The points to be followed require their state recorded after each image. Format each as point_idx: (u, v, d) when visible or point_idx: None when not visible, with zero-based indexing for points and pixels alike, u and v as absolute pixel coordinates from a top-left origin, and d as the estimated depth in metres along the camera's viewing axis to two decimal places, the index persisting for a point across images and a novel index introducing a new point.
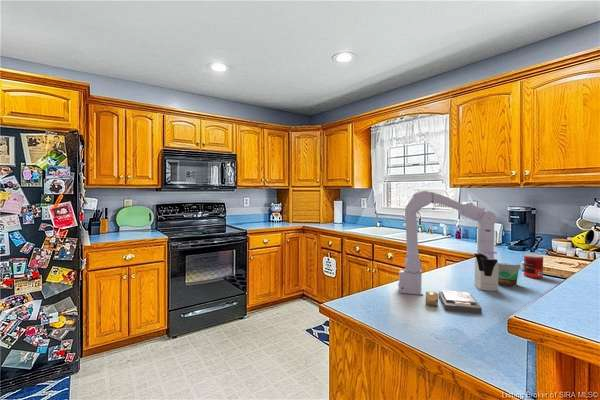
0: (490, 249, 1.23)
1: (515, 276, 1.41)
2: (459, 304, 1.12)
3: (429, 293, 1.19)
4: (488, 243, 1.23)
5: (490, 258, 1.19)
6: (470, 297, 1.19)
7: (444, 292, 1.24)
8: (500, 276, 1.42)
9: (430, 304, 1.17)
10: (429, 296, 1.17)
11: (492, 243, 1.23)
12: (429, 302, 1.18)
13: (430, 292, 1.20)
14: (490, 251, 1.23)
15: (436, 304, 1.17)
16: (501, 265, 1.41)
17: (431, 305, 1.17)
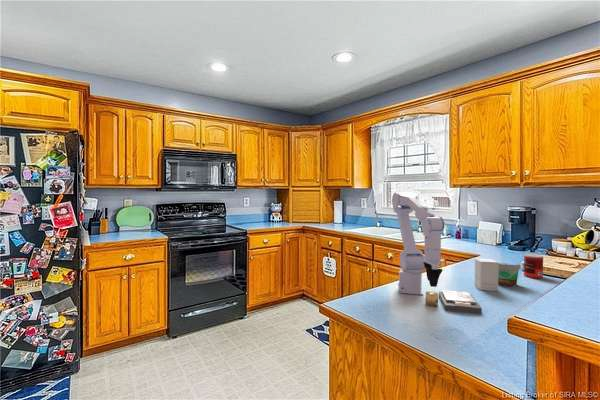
0: (436, 258, 1.16)
1: (515, 276, 1.41)
2: (459, 304, 1.12)
3: (429, 293, 1.19)
4: (434, 251, 1.16)
5: (434, 268, 1.11)
6: (470, 297, 1.19)
7: (444, 292, 1.24)
8: (500, 276, 1.42)
9: (430, 304, 1.17)
10: (429, 295, 1.17)
11: (438, 251, 1.16)
12: (429, 302, 1.18)
13: (430, 292, 1.20)
14: (436, 260, 1.16)
15: (436, 304, 1.17)
16: (501, 265, 1.41)
17: (431, 305, 1.17)
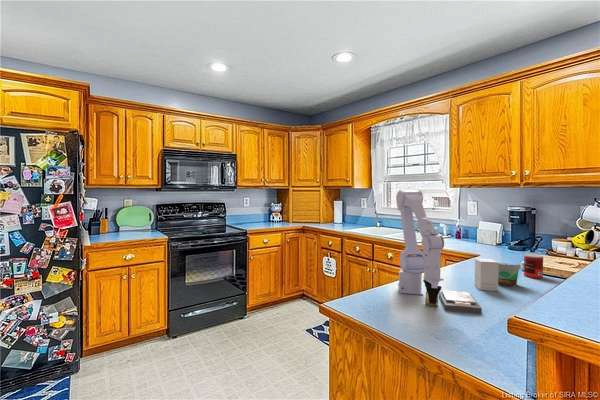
0: (435, 276, 1.16)
1: (515, 276, 1.41)
2: (459, 304, 1.12)
3: None
4: (433, 270, 1.16)
5: (434, 286, 1.12)
6: (470, 297, 1.19)
7: (444, 292, 1.24)
8: (500, 276, 1.42)
9: (430, 304, 1.17)
10: None
11: (438, 270, 1.16)
12: (429, 302, 1.18)
13: None
14: (435, 278, 1.16)
15: (436, 304, 1.17)
16: (501, 265, 1.41)
17: (431, 305, 1.17)
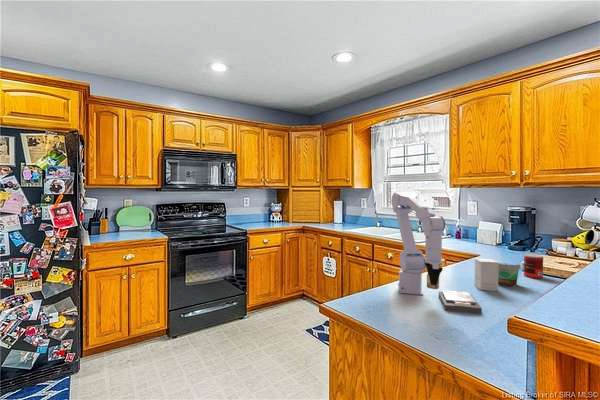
0: (437, 257, 1.16)
1: (515, 276, 1.41)
2: (459, 304, 1.12)
3: None
4: (435, 251, 1.16)
5: (435, 267, 1.12)
6: (470, 297, 1.19)
7: (444, 292, 1.24)
8: (500, 276, 1.42)
9: (431, 286, 1.17)
10: None
11: (439, 251, 1.16)
12: (430, 284, 1.17)
13: None
14: (437, 260, 1.16)
15: (437, 286, 1.17)
16: (501, 265, 1.41)
17: (432, 287, 1.17)
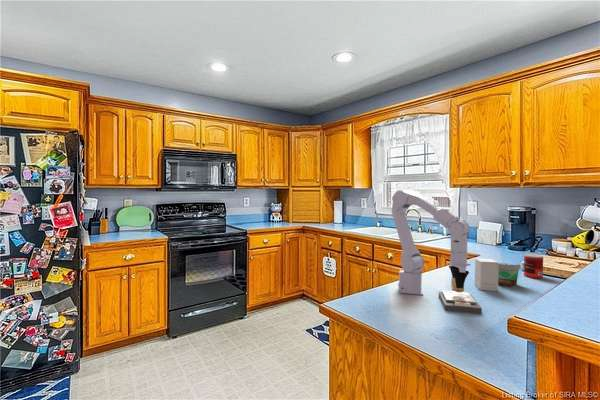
0: (463, 261, 1.17)
1: (515, 276, 1.41)
2: (459, 304, 1.12)
3: None
4: (460, 255, 1.17)
5: (462, 271, 1.13)
6: (470, 297, 1.19)
7: (444, 292, 1.24)
8: (500, 276, 1.42)
9: (457, 289, 1.19)
10: None
11: (465, 255, 1.17)
12: None
13: None
14: (463, 263, 1.17)
15: (463, 289, 1.19)
16: (501, 265, 1.41)
17: (458, 290, 1.18)
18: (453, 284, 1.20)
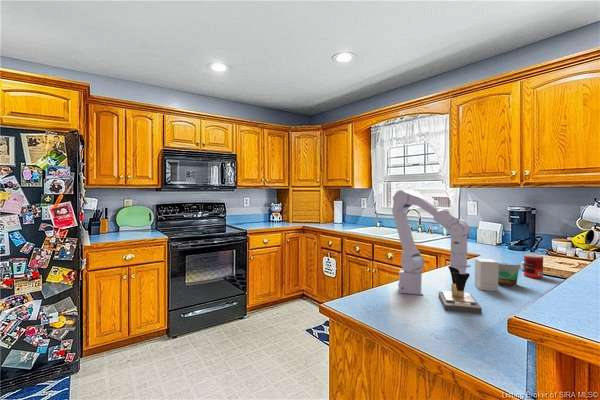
0: (463, 262, 1.17)
1: (515, 276, 1.41)
2: (459, 304, 1.12)
3: (455, 284, 1.20)
4: (460, 256, 1.17)
5: (462, 272, 1.13)
6: (469, 297, 1.19)
7: (444, 292, 1.24)
8: (500, 276, 1.42)
9: (457, 295, 1.19)
10: None
11: (465, 256, 1.17)
12: (455, 293, 1.19)
13: None
14: (463, 265, 1.17)
15: (462, 295, 1.19)
16: (501, 265, 1.41)
17: (458, 296, 1.18)
18: (453, 290, 1.20)
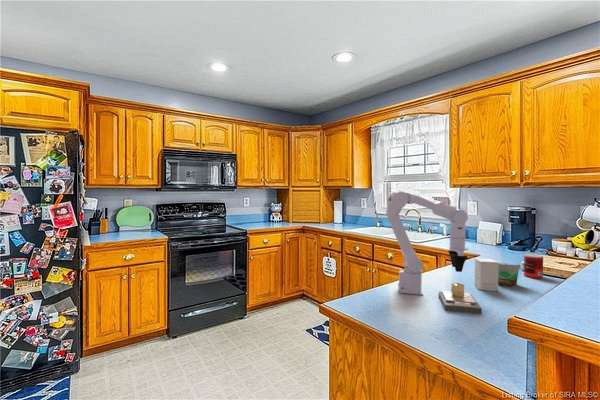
0: (461, 246, 1.28)
1: (515, 276, 1.41)
2: (459, 304, 1.12)
3: (455, 284, 1.20)
4: (459, 240, 1.28)
5: (460, 254, 1.24)
6: (469, 297, 1.19)
7: (444, 292, 1.24)
8: (500, 276, 1.42)
9: (457, 295, 1.19)
10: (456, 287, 1.19)
11: (463, 240, 1.28)
12: (455, 293, 1.19)
13: (456, 283, 1.21)
14: (461, 248, 1.28)
15: (462, 295, 1.19)
16: (501, 265, 1.41)
17: (458, 296, 1.18)
18: (453, 290, 1.20)
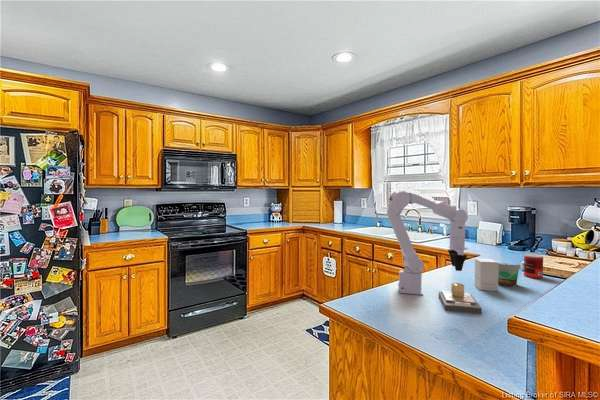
0: (461, 245, 1.29)
1: (515, 276, 1.41)
2: (459, 304, 1.12)
3: (455, 284, 1.20)
4: (459, 239, 1.29)
5: (460, 253, 1.25)
6: (469, 297, 1.19)
7: (444, 292, 1.24)
8: (500, 276, 1.42)
9: (457, 295, 1.19)
10: (456, 287, 1.19)
11: (463, 239, 1.30)
12: (455, 293, 1.19)
13: (456, 283, 1.21)
14: (461, 247, 1.29)
15: (462, 295, 1.19)
16: (501, 265, 1.41)
17: (458, 296, 1.18)
18: (453, 290, 1.20)
